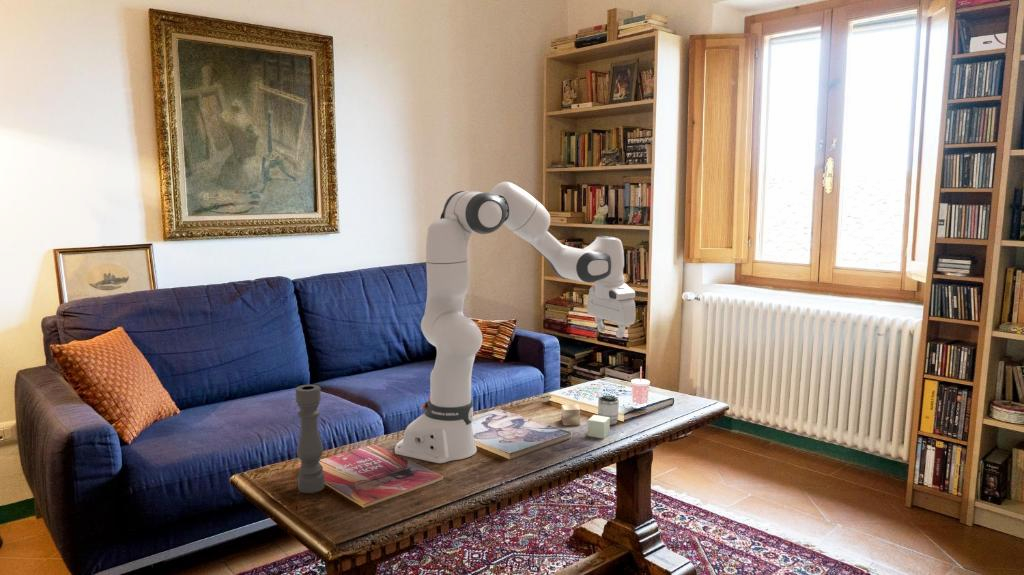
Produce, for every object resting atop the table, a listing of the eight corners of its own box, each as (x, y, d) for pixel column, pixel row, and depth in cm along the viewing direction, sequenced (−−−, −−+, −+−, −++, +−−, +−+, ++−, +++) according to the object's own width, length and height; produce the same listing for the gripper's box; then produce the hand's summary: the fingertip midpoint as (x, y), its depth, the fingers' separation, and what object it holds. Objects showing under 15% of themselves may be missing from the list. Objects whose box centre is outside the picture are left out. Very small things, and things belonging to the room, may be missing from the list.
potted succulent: (611, 426, 220) (612, 401, 218) (593, 422, 224) (594, 397, 222) (621, 421, 225) (622, 397, 223) (604, 417, 228) (605, 393, 227)
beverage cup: (634, 411, 235) (635, 369, 232) (627, 405, 240) (628, 364, 238) (651, 410, 236) (653, 368, 234) (644, 404, 242) (646, 363, 240)
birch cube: (563, 425, 221) (564, 409, 220) (561, 420, 225) (561, 404, 225) (579, 425, 221) (580, 409, 220) (577, 419, 226) (577, 404, 225)
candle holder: (304, 481, 178) (300, 383, 174) (328, 482, 178) (325, 384, 174) (294, 492, 172) (290, 391, 168) (319, 493, 172) (315, 392, 168)
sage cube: (587, 436, 212) (588, 419, 211) (593, 430, 216) (593, 414, 215) (603, 439, 210) (604, 422, 209) (609, 433, 214) (609, 417, 213)
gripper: (581, 285, 224) (582, 329, 227) (621, 295, 206) (622, 342, 209) (598, 283, 227) (599, 326, 230) (639, 292, 209) (639, 339, 212)
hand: (610, 334), depth 219 cm, fingers open, 8 cm apart
